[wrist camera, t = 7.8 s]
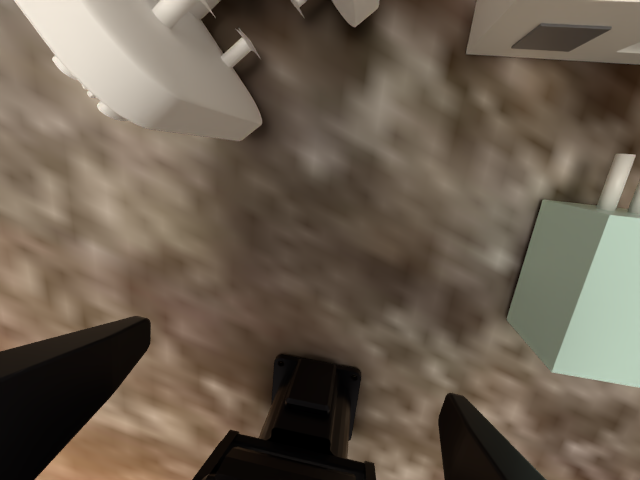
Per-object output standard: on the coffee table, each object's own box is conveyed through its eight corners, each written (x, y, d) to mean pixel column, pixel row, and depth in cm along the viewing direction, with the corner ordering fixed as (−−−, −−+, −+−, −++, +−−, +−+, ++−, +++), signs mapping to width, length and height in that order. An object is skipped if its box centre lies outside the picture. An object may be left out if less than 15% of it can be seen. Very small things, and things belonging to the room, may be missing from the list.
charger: (582, 331, 19) (654, 390, 14) (506, 319, 19) (551, 372, 15) (648, 160, 16) (767, 161, 11) (557, 152, 17) (634, 149, 12)
